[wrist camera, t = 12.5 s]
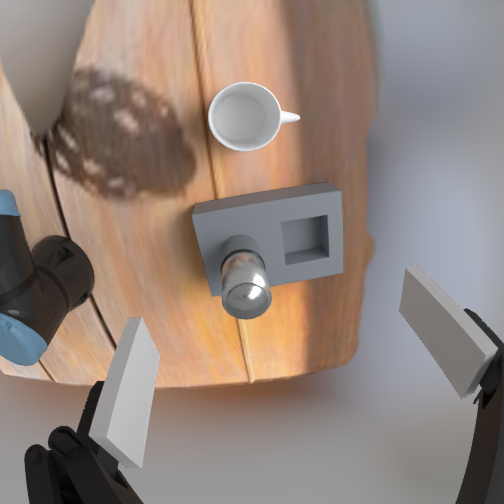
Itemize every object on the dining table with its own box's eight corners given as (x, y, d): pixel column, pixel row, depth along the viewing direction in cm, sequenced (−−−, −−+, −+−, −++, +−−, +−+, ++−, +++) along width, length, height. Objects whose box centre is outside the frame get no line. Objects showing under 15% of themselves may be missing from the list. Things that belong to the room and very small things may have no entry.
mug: (289, 145, 43) (308, 152, 33) (212, 145, 42) (208, 152, 32) (290, 92, 39) (309, 84, 30) (211, 92, 38) (207, 82, 29)
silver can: (225, 272, 45) (226, 327, 33) (217, 237, 42) (215, 285, 30) (262, 265, 45) (276, 318, 33) (257, 230, 42) (270, 275, 30)
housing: (212, 277, 52) (211, 296, 46) (195, 203, 46) (191, 215, 40) (331, 256, 52) (343, 272, 47) (328, 182, 46) (341, 190, 41)
